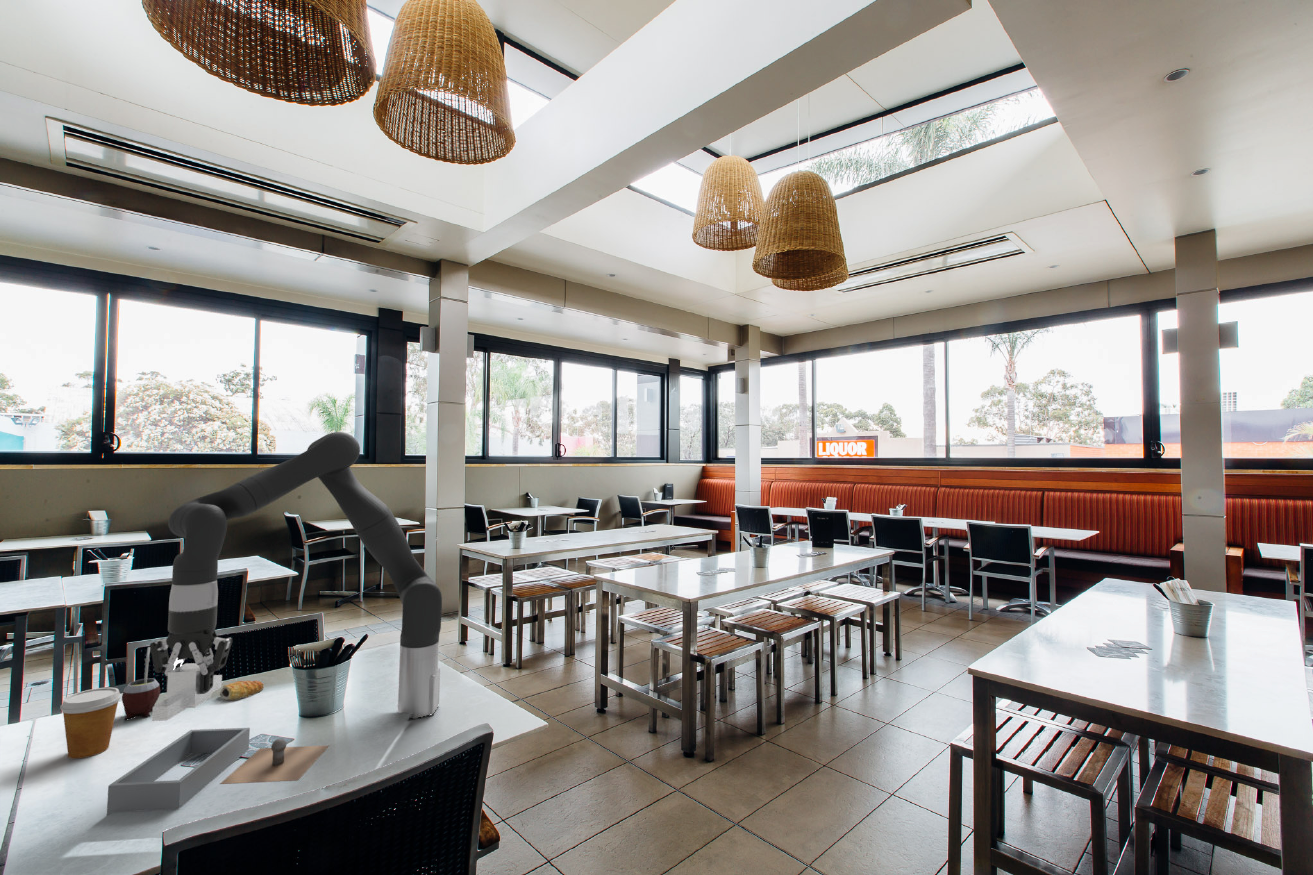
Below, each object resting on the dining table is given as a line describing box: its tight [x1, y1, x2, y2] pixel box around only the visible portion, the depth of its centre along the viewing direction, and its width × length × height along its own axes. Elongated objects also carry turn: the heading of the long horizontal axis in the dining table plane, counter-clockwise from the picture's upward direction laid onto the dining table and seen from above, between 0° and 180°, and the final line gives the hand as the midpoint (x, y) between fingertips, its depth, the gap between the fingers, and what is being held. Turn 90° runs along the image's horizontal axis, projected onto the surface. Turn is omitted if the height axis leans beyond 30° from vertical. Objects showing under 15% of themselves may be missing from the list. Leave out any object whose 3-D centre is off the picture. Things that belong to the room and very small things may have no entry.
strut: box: [151, 662, 223, 722], centre depth 115 cm, size 16×5×7 cm, turn 7°
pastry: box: [219, 680, 264, 702], centre depth 158 cm, size 9×7×4 cm
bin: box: [106, 727, 251, 816], centre depth 114 cm, size 22×12×6 cm, turn 7°
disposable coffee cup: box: [59, 687, 122, 760], centre depth 126 cm, size 10×10×12 cm
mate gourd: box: [121, 646, 161, 721], centre depth 145 cm, size 8×8×15 cm
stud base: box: [219, 738, 330, 785], centre depth 120 cm, size 14×14×6 cm
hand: (189, 692), depth 115 cm, fingers closed on strut, 5 cm apart
